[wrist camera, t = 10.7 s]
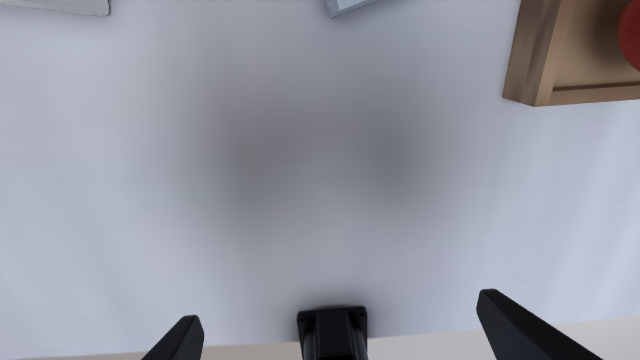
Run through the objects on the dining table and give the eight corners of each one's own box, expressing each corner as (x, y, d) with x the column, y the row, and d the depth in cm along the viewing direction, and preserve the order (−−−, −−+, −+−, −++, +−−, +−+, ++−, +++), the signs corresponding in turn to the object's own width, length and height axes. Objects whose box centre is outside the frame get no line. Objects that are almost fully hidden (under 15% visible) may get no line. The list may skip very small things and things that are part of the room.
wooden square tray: (624, 86, 20) (687, 95, 17) (496, 95, 20) (534, 106, 17) (686, -80, 17) (782, -110, 13) (528, -70, 16) (585, -97, 13)
